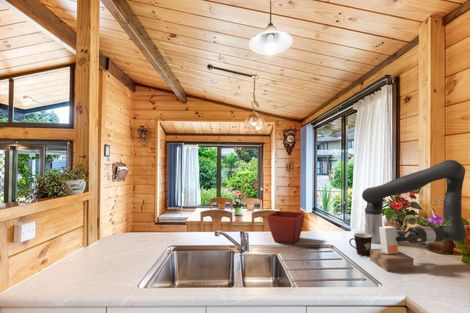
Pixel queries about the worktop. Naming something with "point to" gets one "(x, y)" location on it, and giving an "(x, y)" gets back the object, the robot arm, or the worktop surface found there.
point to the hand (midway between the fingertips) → (389, 236)
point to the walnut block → (392, 261)
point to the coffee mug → (362, 243)
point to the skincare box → (388, 239)
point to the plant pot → (286, 226)
